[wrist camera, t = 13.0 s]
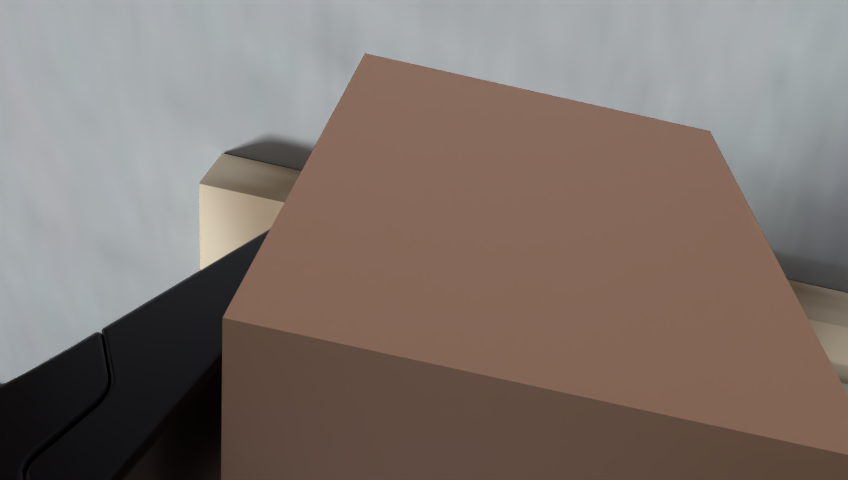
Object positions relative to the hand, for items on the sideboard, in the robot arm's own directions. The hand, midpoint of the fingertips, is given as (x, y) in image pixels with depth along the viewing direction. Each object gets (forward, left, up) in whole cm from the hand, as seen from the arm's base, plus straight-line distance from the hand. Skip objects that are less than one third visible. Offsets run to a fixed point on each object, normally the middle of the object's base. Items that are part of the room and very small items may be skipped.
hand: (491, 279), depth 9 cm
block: (0, 0, -1) cm, 1 cm away
